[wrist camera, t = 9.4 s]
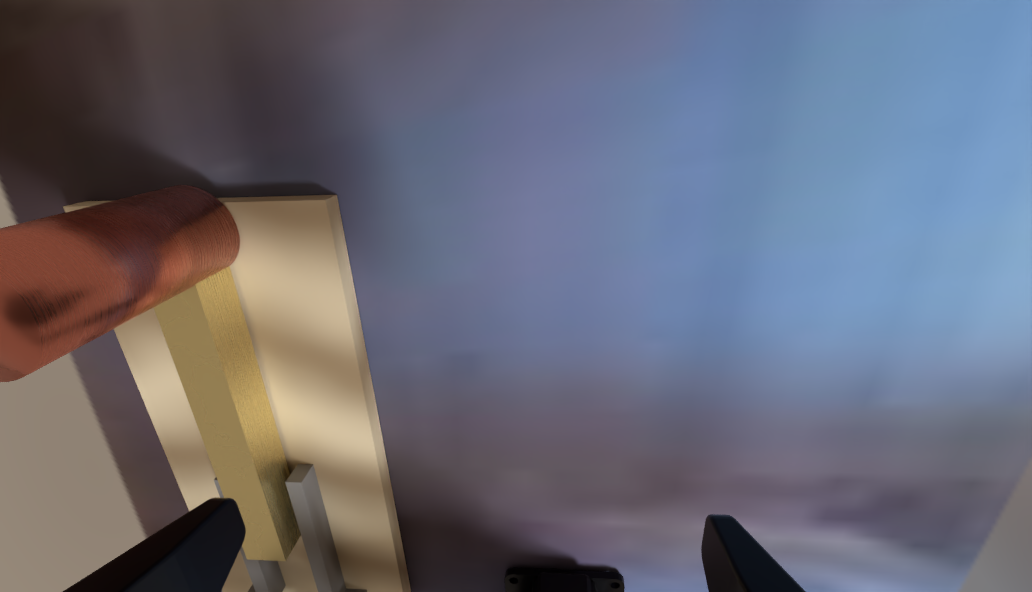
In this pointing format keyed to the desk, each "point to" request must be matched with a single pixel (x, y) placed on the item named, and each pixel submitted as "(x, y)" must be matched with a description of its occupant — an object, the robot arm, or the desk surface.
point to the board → (292, 400)
